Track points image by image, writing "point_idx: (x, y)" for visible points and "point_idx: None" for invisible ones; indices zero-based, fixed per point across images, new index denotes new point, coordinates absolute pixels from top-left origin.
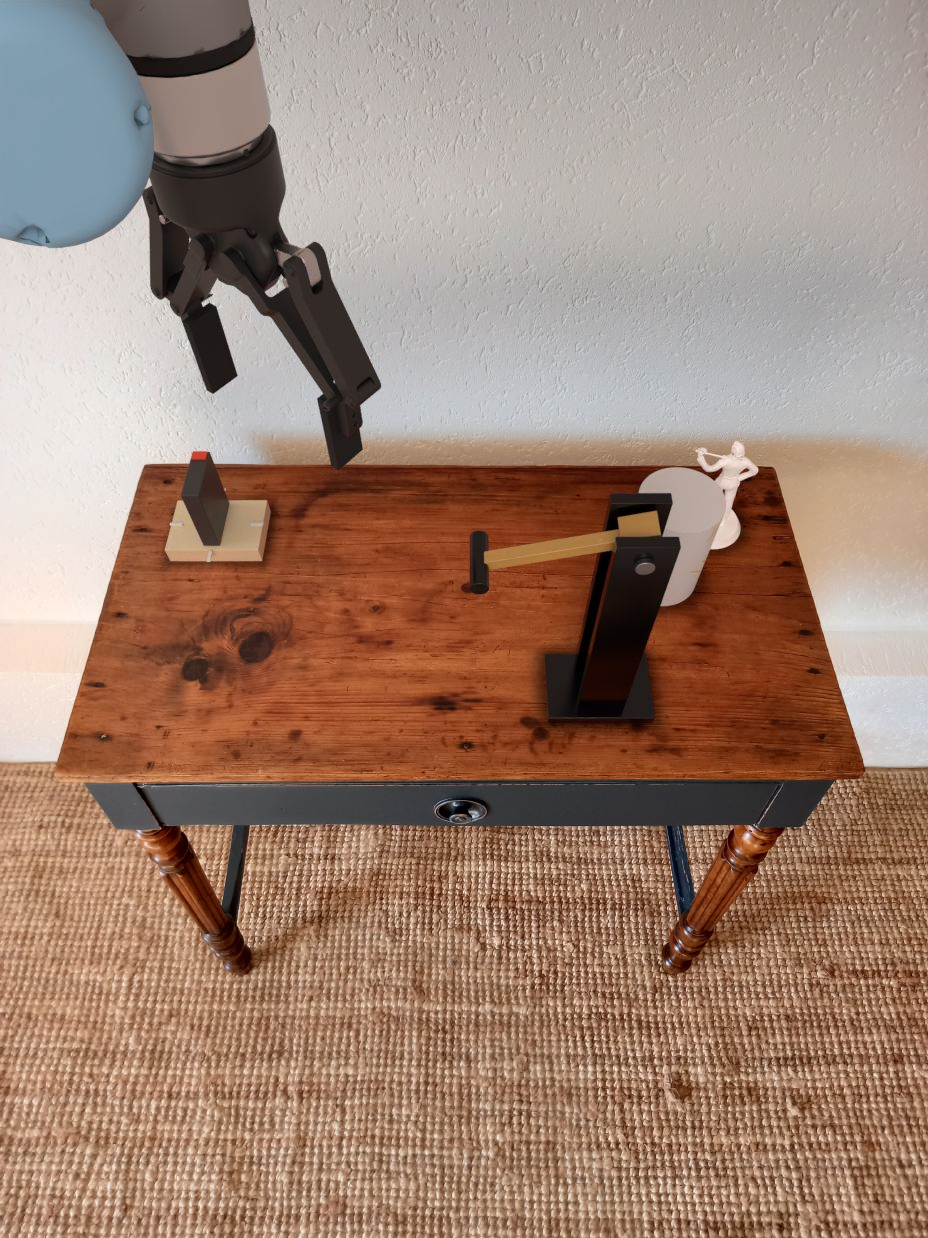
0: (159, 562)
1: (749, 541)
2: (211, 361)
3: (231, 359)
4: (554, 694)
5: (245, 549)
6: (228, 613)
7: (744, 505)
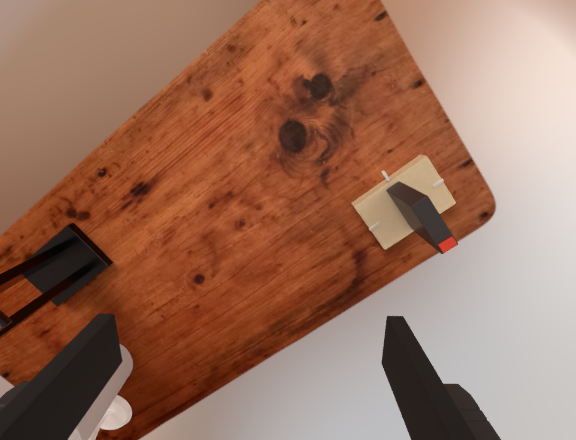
0: (428, 147)
1: None
2: (404, 373)
3: (392, 389)
4: (78, 243)
5: (363, 200)
6: (337, 146)
7: (102, 433)
